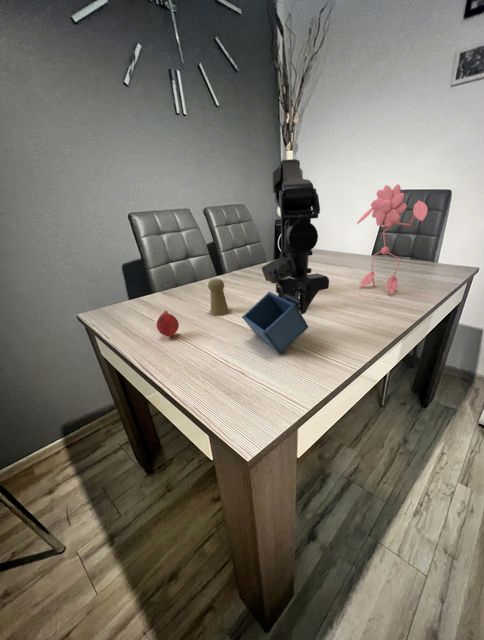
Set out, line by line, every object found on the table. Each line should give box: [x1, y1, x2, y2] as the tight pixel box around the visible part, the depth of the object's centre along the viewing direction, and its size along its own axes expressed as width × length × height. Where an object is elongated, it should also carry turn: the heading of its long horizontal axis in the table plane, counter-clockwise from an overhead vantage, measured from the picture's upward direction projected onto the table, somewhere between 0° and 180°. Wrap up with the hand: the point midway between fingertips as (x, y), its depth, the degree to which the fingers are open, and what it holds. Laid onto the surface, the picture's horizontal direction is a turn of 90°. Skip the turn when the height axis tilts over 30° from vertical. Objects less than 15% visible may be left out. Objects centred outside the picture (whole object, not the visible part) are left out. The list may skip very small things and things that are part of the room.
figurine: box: [354, 183, 428, 300], centre depth 95 cm, size 15×26×35 cm, turn 34°
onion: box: [156, 310, 180, 338], centre depth 77 cm, size 6×6×8 cm
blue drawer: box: [241, 291, 310, 355], centre depth 70 cm, size 13×12×8 cm
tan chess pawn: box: [207, 278, 229, 316], centre depth 91 cm, size 6×6×11 cm
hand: (294, 309), depth 71 cm, fingers closed on blue drawer, 7 cm apart
